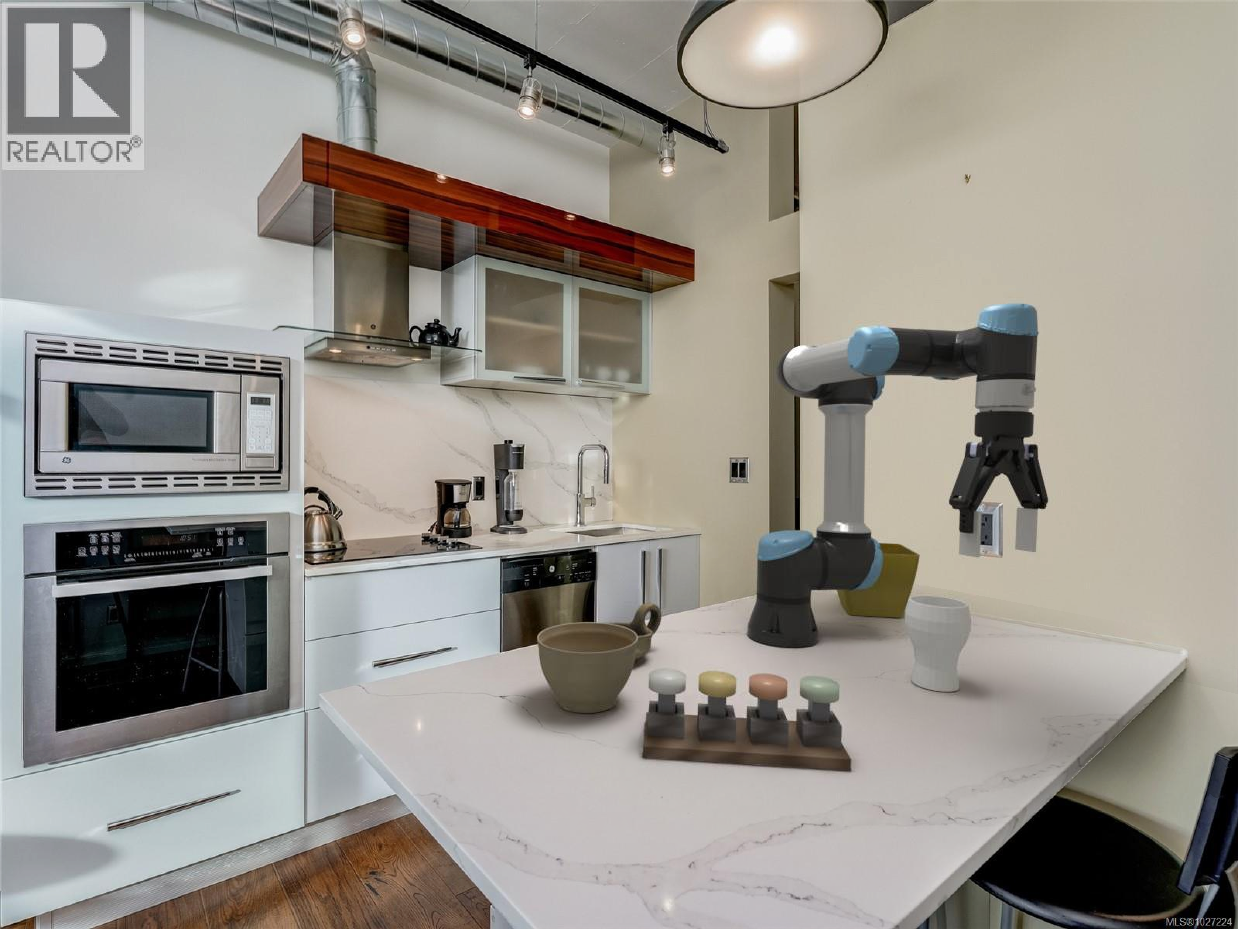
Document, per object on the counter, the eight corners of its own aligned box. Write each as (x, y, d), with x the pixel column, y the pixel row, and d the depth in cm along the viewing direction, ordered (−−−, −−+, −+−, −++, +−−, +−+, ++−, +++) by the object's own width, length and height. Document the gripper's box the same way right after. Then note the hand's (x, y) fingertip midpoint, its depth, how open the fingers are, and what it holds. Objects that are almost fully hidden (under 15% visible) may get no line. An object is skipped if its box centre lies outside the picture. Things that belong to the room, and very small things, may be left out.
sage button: (803, 727, 86) (804, 688, 86) (795, 712, 91) (796, 675, 91) (842, 730, 85) (843, 691, 85) (832, 714, 91) (834, 677, 90)
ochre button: (698, 721, 87) (699, 683, 87) (697, 706, 92) (698, 670, 92) (737, 724, 87) (738, 685, 86) (733, 708, 92) (734, 672, 92)
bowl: (567, 655, 126) (569, 605, 125) (638, 641, 136) (639, 595, 136) (607, 676, 115) (608, 621, 114) (681, 659, 125) (682, 609, 124)
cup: (977, 698, 108) (980, 610, 108) (910, 692, 110) (913, 606, 110) (957, 676, 119) (960, 596, 118) (896, 671, 121) (899, 592, 120)
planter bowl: (543, 682, 111) (545, 620, 111) (636, 685, 111) (638, 623, 110) (527, 722, 95) (529, 649, 95) (636, 726, 94) (637, 653, 94)
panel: (642, 757, 85) (643, 724, 85) (646, 722, 96) (646, 692, 96) (850, 770, 83) (851, 736, 82) (829, 733, 94) (830, 702, 93)
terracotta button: (750, 724, 86) (751, 686, 86) (746, 709, 92) (747, 672, 91) (789, 727, 86) (790, 688, 86) (782, 711, 91) (783, 674, 91)
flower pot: (837, 618, 159) (839, 551, 158) (825, 600, 178) (827, 540, 177) (918, 623, 156) (921, 555, 155) (897, 604, 174) (899, 543, 174)
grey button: (647, 718, 88) (648, 680, 87) (648, 703, 93) (649, 667, 93) (685, 721, 87) (686, 682, 87) (684, 705, 92) (685, 669, 92)
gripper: (974, 405, 86) (968, 562, 86) (1078, 413, 97) (1072, 552, 98) (925, 407, 92) (920, 553, 93) (1028, 415, 104) (1022, 545, 104)
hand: (998, 553), depth 95 cm, fingers open, 13 cm apart
